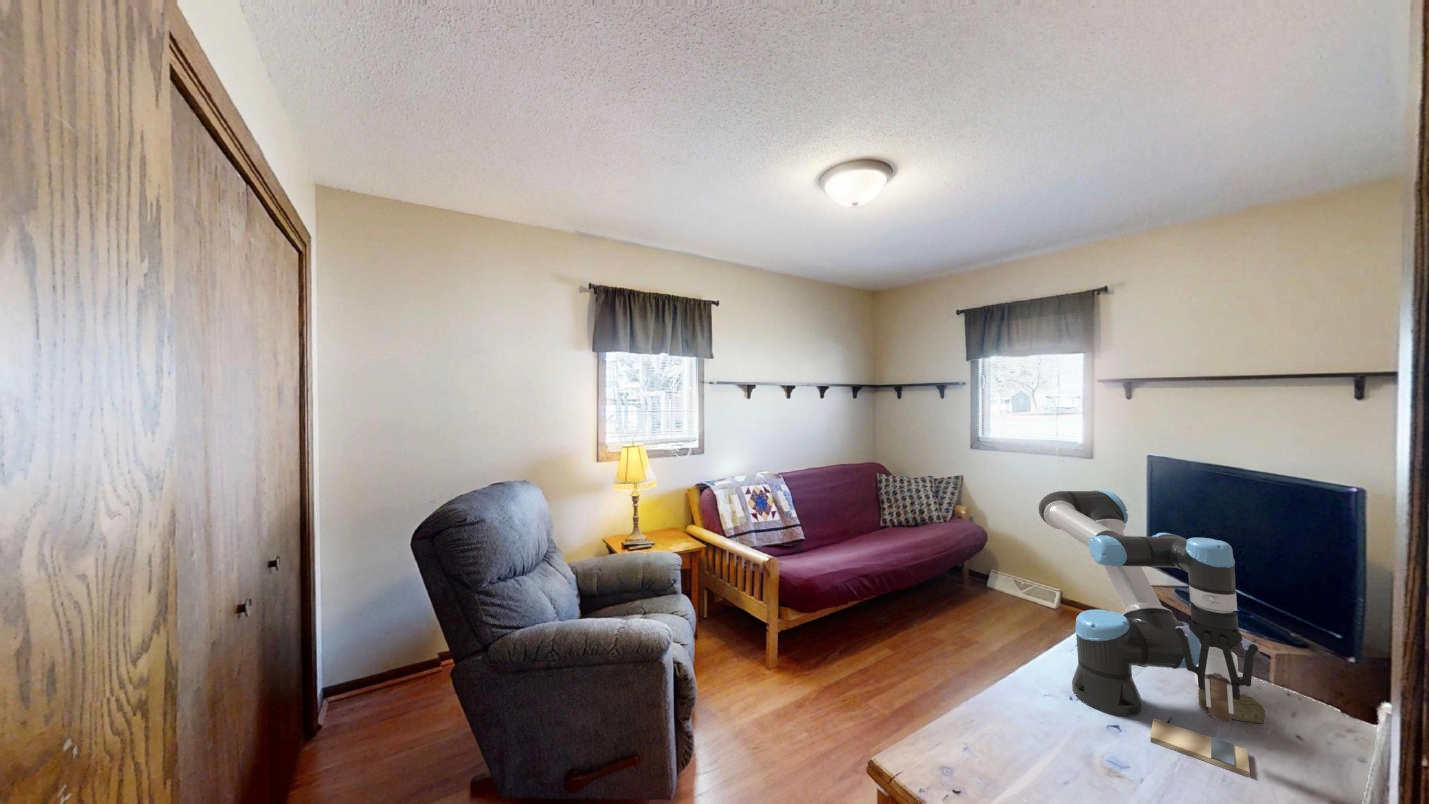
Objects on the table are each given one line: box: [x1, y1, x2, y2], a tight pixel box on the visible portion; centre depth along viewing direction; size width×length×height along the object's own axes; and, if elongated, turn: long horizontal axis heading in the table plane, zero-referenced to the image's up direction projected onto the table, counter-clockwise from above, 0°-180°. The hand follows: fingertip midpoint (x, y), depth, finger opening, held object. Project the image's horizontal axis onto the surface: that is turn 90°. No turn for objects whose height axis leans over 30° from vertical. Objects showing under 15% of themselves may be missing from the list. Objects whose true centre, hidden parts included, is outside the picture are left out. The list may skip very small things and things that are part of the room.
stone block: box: [1197, 688, 1266, 724], centre depth 121 cm, size 6×12×5 cm, turn 68°
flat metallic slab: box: [1150, 718, 1251, 778], centre depth 119 cm, size 16×34×2 cm, turn 133°
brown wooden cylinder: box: [1207, 673, 1232, 723], centre depth 108 cm, size 3×3×10 cm
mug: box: [1194, 643, 1239, 686], centre depth 132 cm, size 9×12×11 cm
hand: (1219, 707), depth 108 cm, fingers closed on brown wooden cylinder, 3 cm apart
